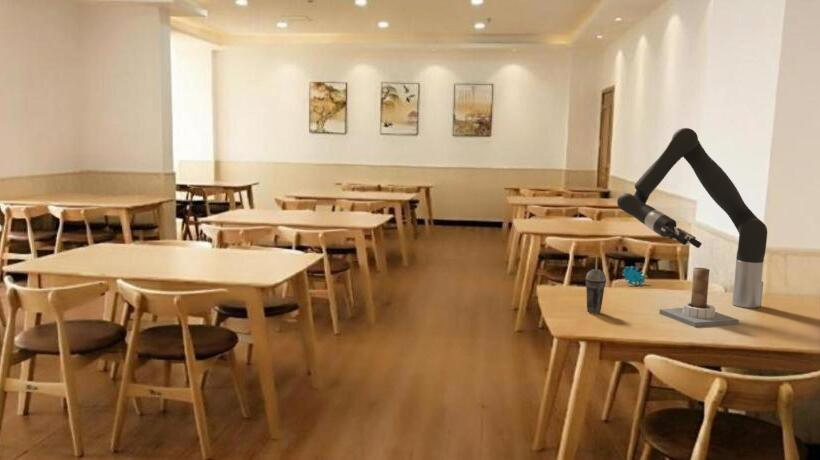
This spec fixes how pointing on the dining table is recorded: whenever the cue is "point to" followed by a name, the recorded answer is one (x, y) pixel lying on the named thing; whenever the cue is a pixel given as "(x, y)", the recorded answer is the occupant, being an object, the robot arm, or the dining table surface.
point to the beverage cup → (595, 289)
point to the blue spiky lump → (634, 276)
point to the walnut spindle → (700, 288)
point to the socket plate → (699, 320)
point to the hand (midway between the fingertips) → (693, 244)
